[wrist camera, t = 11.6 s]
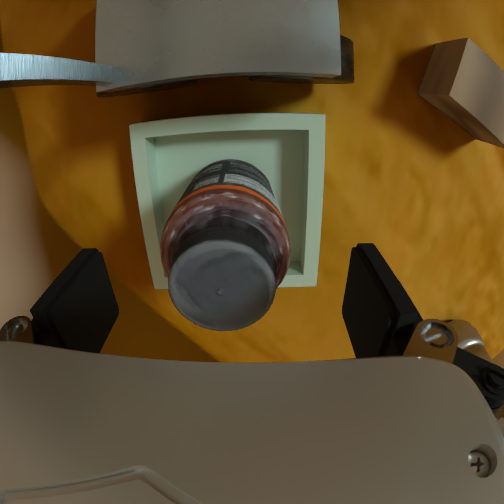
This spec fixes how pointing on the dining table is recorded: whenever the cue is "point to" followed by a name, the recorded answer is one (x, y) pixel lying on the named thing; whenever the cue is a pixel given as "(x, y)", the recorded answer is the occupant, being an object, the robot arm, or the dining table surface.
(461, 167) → the dining table surface
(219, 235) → the supplement bottle
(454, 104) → the block
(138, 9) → the trolley
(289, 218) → the tray
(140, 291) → the dining table surface
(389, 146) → the dining table surface
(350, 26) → the dining table surface
